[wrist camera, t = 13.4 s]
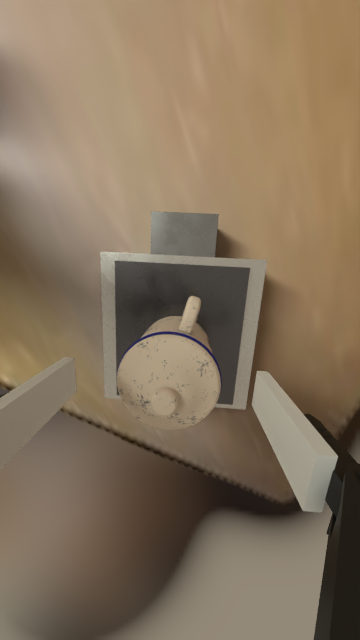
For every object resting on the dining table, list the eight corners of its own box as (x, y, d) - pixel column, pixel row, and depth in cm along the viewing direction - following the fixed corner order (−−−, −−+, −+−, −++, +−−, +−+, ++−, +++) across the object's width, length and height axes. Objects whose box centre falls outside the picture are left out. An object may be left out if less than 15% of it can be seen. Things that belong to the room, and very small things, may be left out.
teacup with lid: (197, 388, 26) (202, 473, 15) (133, 367, 26) (88, 437, 15) (230, 304, 24) (266, 329, 12) (159, 280, 24) (128, 283, 12)
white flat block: (119, 377, 34) (102, 400, 27) (117, 221, 29) (96, 204, 22) (235, 386, 33) (246, 412, 27) (256, 227, 28) (276, 211, 21)
